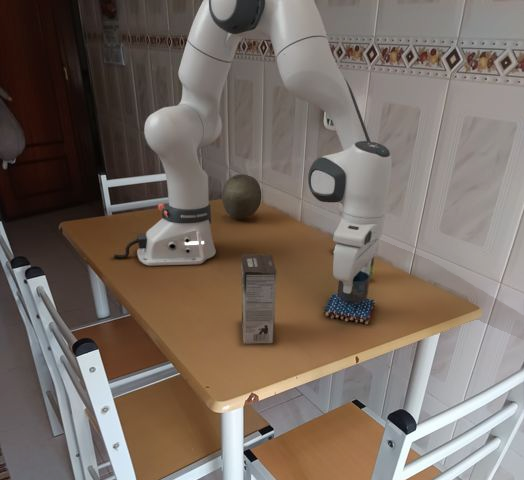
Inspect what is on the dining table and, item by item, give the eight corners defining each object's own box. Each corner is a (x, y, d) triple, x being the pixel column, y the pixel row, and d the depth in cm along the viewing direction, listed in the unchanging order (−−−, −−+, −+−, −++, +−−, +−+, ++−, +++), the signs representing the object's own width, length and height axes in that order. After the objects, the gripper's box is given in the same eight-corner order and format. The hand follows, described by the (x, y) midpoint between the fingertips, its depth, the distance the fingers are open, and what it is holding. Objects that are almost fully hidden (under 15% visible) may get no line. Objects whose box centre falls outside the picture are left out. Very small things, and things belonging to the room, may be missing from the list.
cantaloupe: (213, 218, 173) (212, 174, 165) (243, 211, 181) (244, 168, 173) (239, 228, 164) (239, 182, 156) (270, 220, 172) (271, 176, 164)
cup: (345, 305, 109) (348, 283, 106) (332, 293, 115) (334, 271, 112) (372, 301, 111) (375, 279, 108) (357, 289, 117) (360, 268, 114)
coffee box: (240, 323, 109) (241, 253, 100) (269, 322, 109) (272, 253, 101) (242, 344, 101) (243, 271, 92) (274, 343, 102) (277, 271, 93)
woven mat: (369, 326, 109) (370, 318, 108) (322, 317, 112) (323, 309, 111) (375, 306, 118) (376, 298, 116) (332, 299, 120) (332, 291, 119)
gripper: (363, 211, 113) (355, 267, 120) (330, 236, 98) (324, 299, 105) (390, 215, 111) (380, 273, 118) (360, 242, 95) (352, 306, 102)
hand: (353, 285), depth 111 cm, fingers closed on cup, 7 cm apart
